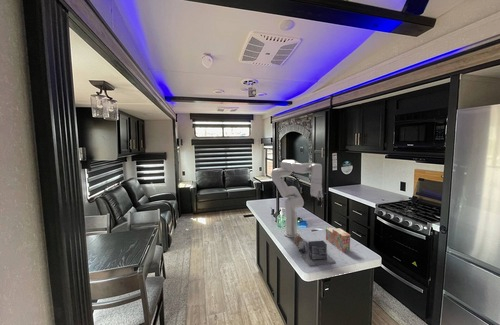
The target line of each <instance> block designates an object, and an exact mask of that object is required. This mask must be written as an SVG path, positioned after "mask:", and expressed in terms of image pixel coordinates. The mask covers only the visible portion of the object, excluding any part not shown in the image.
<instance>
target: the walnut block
mask: <svg viewBox="0 0 500 325" xmlns="http://www.w3.org/2000/svg"><path fill="white" fill-rule="evenodd" d="M293 239H294V245H295V246H296V247H299V241H304V238H302V237H301V236H298V237H293Z"/></svg>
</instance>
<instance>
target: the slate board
mask: <svg viewBox="0 0 500 325" xmlns="http://www.w3.org/2000/svg"><path fill="white" fill-rule="evenodd" d="M301 257H302V259H303V260H304V261H305V262H306V264H307V265H308V266H309V267H316V266H322V265H330V264H331V265H332V264H336V260H334V258H333V257H332V256H331V255H329V254H328V253H327V259H324V260H311V259H310V257H309V253H301Z"/></svg>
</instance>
